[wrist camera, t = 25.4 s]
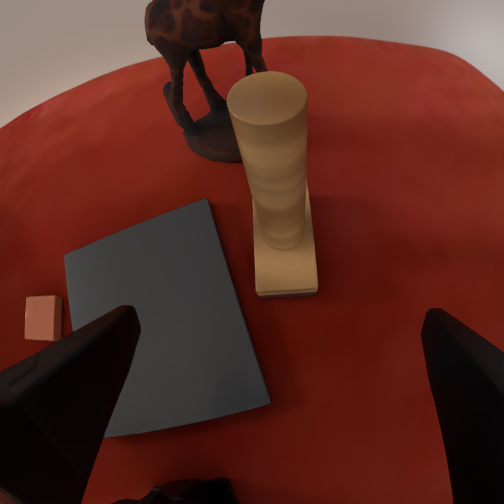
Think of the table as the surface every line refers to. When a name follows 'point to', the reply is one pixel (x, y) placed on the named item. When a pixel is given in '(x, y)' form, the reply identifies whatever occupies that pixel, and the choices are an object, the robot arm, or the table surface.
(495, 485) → the robot arm
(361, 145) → the table surface
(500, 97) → the table surface
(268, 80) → the tan wooden tall post
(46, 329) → the block
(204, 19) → the statue
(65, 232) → the table surface
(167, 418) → the board
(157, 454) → the table surface
